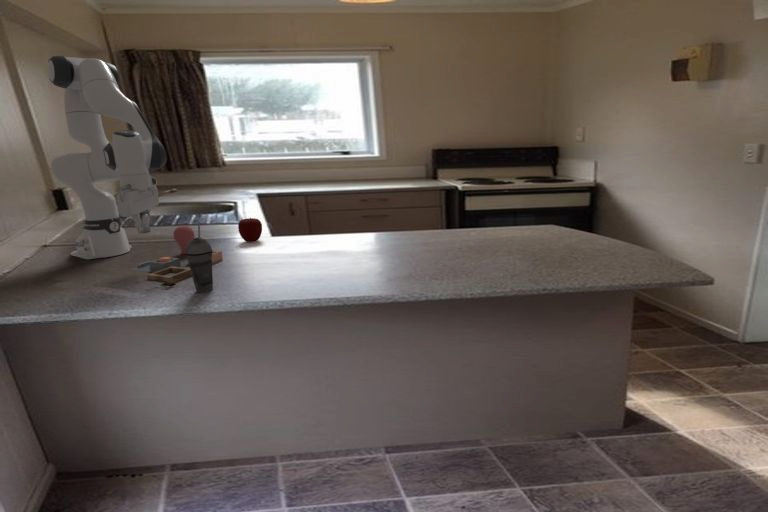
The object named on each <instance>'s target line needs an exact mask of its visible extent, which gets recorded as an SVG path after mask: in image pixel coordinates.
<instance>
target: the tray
mask: <svg viewBox="0 0 768 512" xmlns="http://www.w3.org/2000/svg"><path fill="white" fill-rule="evenodd" d="M169 273H174V274H171V275H166V274H169ZM146 277H147V280H151V281H152V280H153V281H159V282H163V283H162V284H160V286H162V287H163V286H166V287H174V286H175V285H177V282H180V281H182V280H185V279H187V278H190V277H192V273H191V269H190V267H183V266H181V267H173V266H171V267H168V268H165V269H163V270H160V271H157V272H150V273H148V274H147V276H146Z"/></svg>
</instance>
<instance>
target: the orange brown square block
mask: <svg viewBox="0 0 768 512" xmlns="http://www.w3.org/2000/svg"><path fill="white" fill-rule="evenodd" d="M186 260H187V259H186ZM186 262H187V265H189V261H188V260H187V261H186ZM216 262H217V263H216ZM220 263H224V258H223V252H222V251H221V250H212V264H213V266H214V265H217V264H220Z"/></svg>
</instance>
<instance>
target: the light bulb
mask: <svg viewBox="0 0 768 512" xmlns="http://www.w3.org/2000/svg"><path fill="white" fill-rule="evenodd" d="M194 238H195V232H194V229H193V228H192V227H190V226H188V225H179V226H177V227H176V228H174V230H173V239H174V241H175V243H176V244H177V245H178V246H179V249H180V253H181V254H182V255H186V254H185V253H186V252H185V250H186V246H187V244H188V242H189V241H190V240H192V239H194Z"/></svg>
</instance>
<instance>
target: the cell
mask: <svg viewBox="0 0 768 512" xmlns="http://www.w3.org/2000/svg"><path fill="white" fill-rule="evenodd" d="M139 217H140V219H141V221H142V222H143V226H141V227H136V228H137V232H138V234H149V233H151V227H150V222H149V219H148V214H144V212H140V216H139Z"/></svg>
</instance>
